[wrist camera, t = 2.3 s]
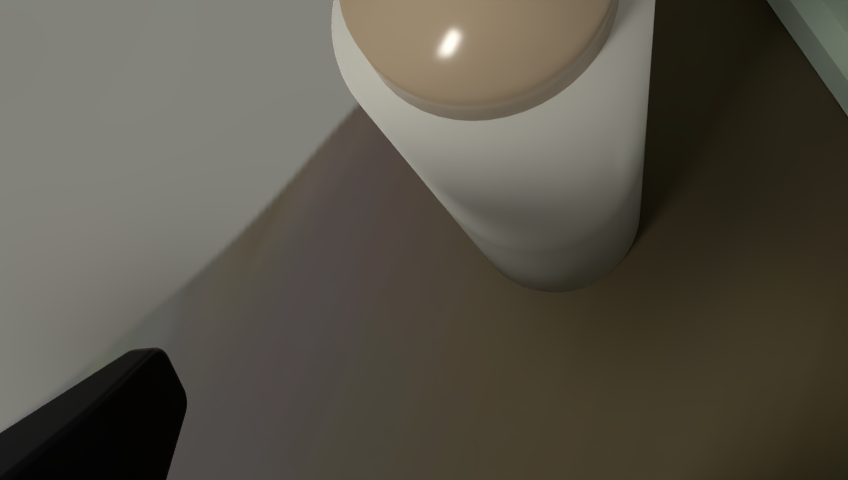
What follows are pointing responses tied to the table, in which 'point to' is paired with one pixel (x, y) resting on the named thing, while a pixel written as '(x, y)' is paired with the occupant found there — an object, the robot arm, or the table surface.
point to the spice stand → (820, 38)
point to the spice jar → (514, 120)
